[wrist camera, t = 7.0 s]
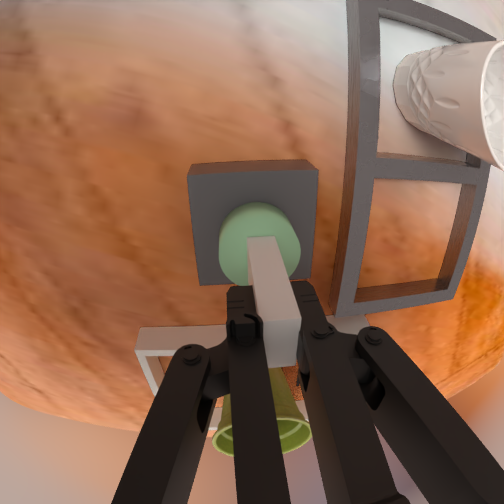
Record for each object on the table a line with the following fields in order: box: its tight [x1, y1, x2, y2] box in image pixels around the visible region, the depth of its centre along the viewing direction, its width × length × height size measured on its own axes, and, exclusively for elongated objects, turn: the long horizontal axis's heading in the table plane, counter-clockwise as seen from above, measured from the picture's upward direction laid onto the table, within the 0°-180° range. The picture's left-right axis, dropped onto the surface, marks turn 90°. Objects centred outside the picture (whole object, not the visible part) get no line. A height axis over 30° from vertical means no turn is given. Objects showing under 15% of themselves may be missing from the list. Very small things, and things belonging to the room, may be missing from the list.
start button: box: [219, 202, 301, 286], centre depth 19 cm, size 5×5×5 cm
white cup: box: [393, 40, 504, 171], centre depth 14 cm, size 8×8×10 cm
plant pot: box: [212, 367, 312, 457], centre depth 28 cm, size 9×9×9 cm
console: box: [187, 160, 318, 286], centre depth 21 cm, size 8×8×3 cm
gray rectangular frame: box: [134, 314, 370, 430], centre depth 30 cm, size 22×16×3 cm
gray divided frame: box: [329, 0, 496, 318], centre depth 20 cm, size 14×26×2 cm, turn 1°
